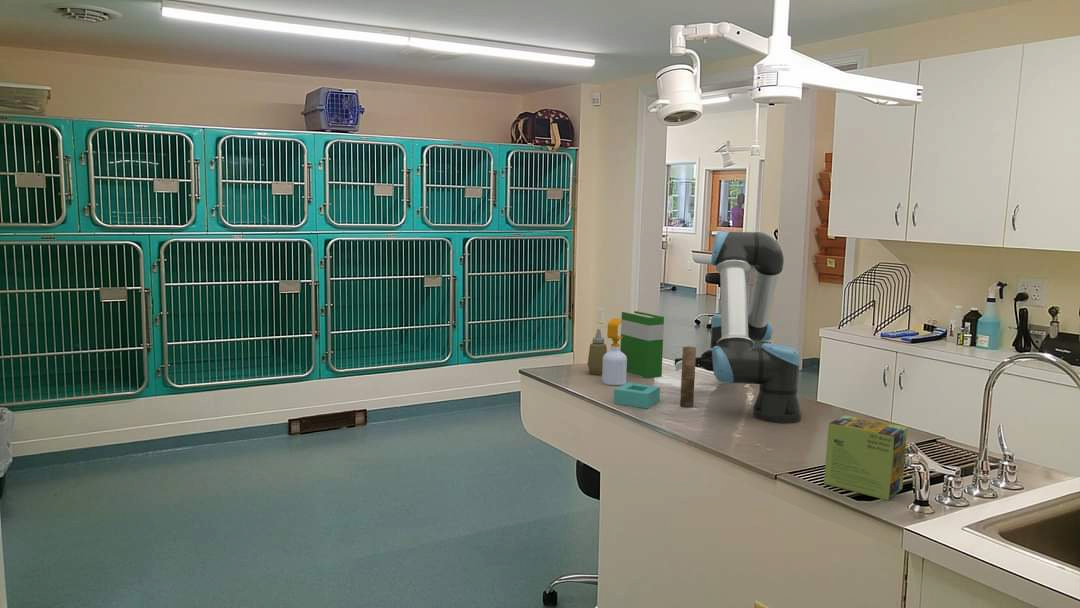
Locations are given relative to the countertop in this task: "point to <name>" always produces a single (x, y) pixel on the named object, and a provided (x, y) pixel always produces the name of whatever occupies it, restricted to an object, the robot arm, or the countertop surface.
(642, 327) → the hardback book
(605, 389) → the countertop surface
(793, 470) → the countertop surface
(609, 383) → the soap bottle
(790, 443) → the countertop surface
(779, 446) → the countertop surface
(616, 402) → the socket
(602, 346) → the squeeze bottle
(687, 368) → the dowel
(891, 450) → the protein box
